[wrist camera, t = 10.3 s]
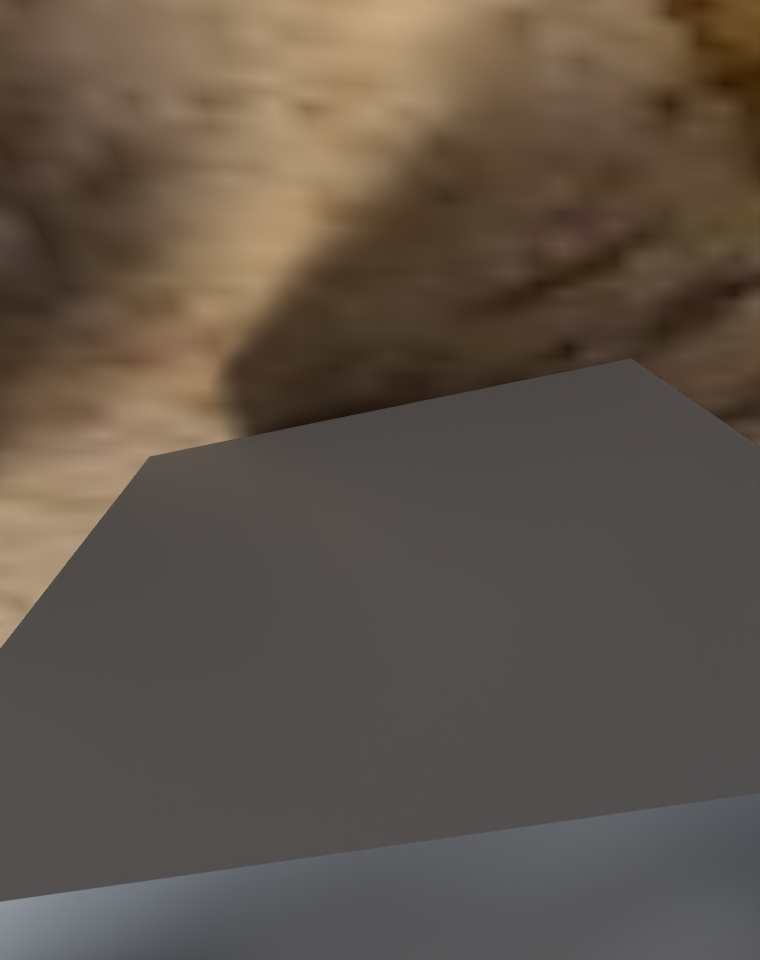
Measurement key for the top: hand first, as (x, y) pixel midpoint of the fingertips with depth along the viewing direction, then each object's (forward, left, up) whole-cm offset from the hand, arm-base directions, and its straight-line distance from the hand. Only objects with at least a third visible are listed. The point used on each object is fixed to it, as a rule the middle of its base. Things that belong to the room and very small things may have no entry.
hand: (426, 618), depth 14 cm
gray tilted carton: (0, 0, -1) cm, 1 cm away
